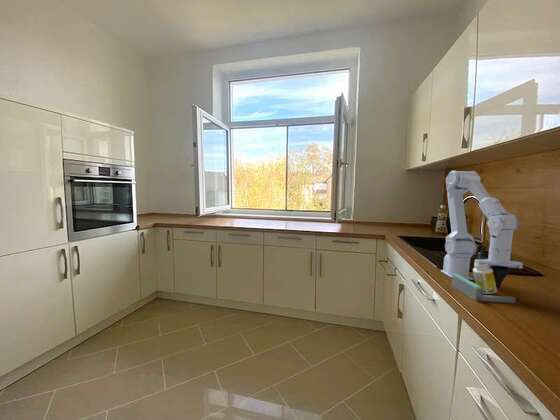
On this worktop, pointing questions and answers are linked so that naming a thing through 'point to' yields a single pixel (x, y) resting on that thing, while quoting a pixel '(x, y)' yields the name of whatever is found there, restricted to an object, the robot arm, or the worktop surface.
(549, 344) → the worktop surface
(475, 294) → the bay
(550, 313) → the worktop surface
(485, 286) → the supplement bottle
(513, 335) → the worktop surface
